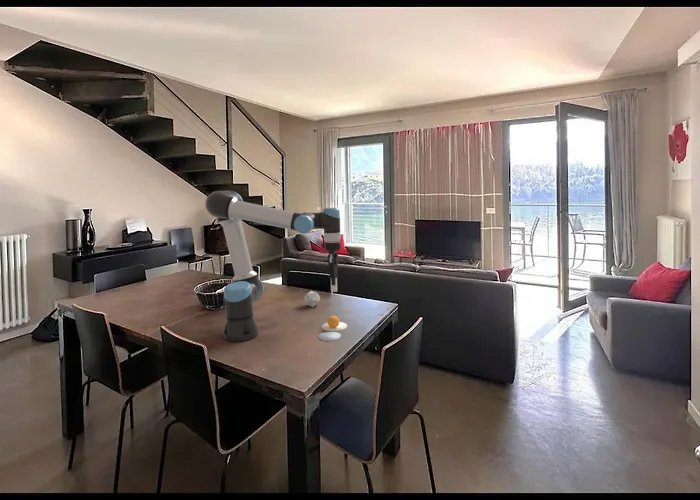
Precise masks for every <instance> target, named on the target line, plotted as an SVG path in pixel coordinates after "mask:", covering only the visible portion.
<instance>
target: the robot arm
mask: <svg viewBox="0 0 700 500" xmlns="http://www.w3.org/2000/svg"><path fill="white" fill-rule="evenodd" d="M204 206H205V208H206V211H207V212H208V213H209V214H210V215H211V216H212V217H215V218H216V220H217V223H219V224H220V225H221V226H222V229H223V234H224V237H225V240H226V245H227V249H228V252H229V258H230V262H231V265H232V269H233V274H234V276H233V277H232V282H231V283H228V284H227V285H225V286H224V288H223V297H224V298H223V299H224V307H225V309H224V311H225V317H226V321H225V323H224V324H225V326H224V330H223V339H224V340H225V341H228V342H235V343H236V342H237V343H239V342H244V341H248V340H249V341H250V340H252V339H254V338H256V337H258V335H259V326H258V324H257V322H256V320H255V317H254V307H253V305H254V304H255V303H256V302H258V301H259V300H260V298H261V297H262V295H263V293H264V284H263V283H264V282H262V280H261V279H260V278H259V275H258V273H257V271H254V269H253V265H252V260H251V256H250V251H249V248H248V244H247V241H246V240H247V239H246V236H245V232H244V227H243V223H242V221H248V222H253V223H257V224H261V225H267V226H271V227H277V228H282V229H286V230H291V231H296V232H298V233H299V234H308V233H310V232H311V231H313V230H319V229H320V230H323V241H324V251H327V252H328V254H327V263H328V272H329V276H328V279H330V292H333V293H334V292H335V293H337V292H338V278H339V275H338V274H339V273H338V270H339V269H338V263H339V262H338V259H339V253H337V251H340V250H341V249H342V243H341V237H343V235H342V234H341V215H340V209H339V208H338V207H324V208H323V209H322V212H305V211H304V212H293V211H289V210H286V209H280V208H275V207H271V206H265V205H262V204H256V203H251V202H248V201H244V200H243V198H242V196H241V195H240V194H239V193H238V192H236V191H233V190H230V189H229V190H228V189H227V190H216V191H213V192H211V193H210V194H208V196H207V197H206V199H205V205H204Z"/></svg>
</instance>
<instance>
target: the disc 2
mask: <svg viewBox="0 0 700 500" xmlns="http://www.w3.org/2000/svg"><path fill="white" fill-rule="evenodd" d="M341 337H342V334H341V333H340V332H338V331H325V332H320V334H318V336H317V339H318V340H320V341H323V342H333V341H337V340H339V339H341Z"/></svg>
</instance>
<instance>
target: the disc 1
mask: <svg viewBox="0 0 700 500" xmlns="http://www.w3.org/2000/svg"><path fill="white" fill-rule="evenodd" d="M347 328H348V324H347V323H346V322H343V321H339V325H338V326H337V327H335V328H331V327H330V326H329V325H328V322H324V323H323V324H322V325H321V329H322V331H325V332H339V331H343V330H346V329H347Z"/></svg>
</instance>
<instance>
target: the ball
mask: <svg viewBox="0 0 700 500" xmlns="http://www.w3.org/2000/svg"><path fill="white" fill-rule="evenodd" d="M339 322H340V319H339V318H338V316H336V315H331V316H329V317H328V319H327V322H326V323H328V325H329V326H330V327H331V328H335V327H337V326H338V325H339Z"/></svg>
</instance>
